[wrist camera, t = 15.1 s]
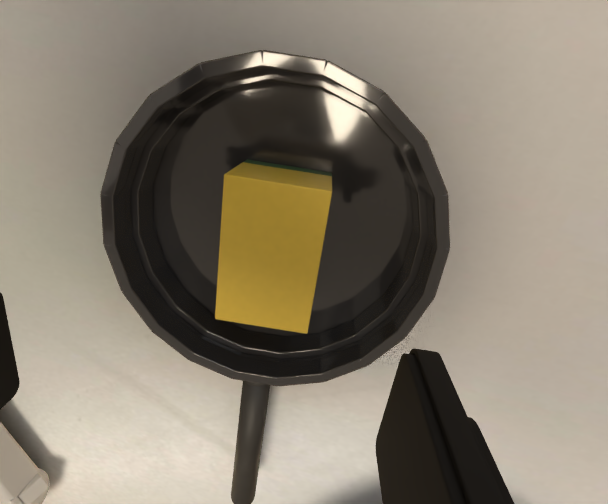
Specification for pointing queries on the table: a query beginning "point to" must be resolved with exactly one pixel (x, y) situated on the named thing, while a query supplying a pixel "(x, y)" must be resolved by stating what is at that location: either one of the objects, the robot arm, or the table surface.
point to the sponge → (271, 244)
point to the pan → (291, 152)
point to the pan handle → (249, 441)
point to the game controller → (19, 474)
